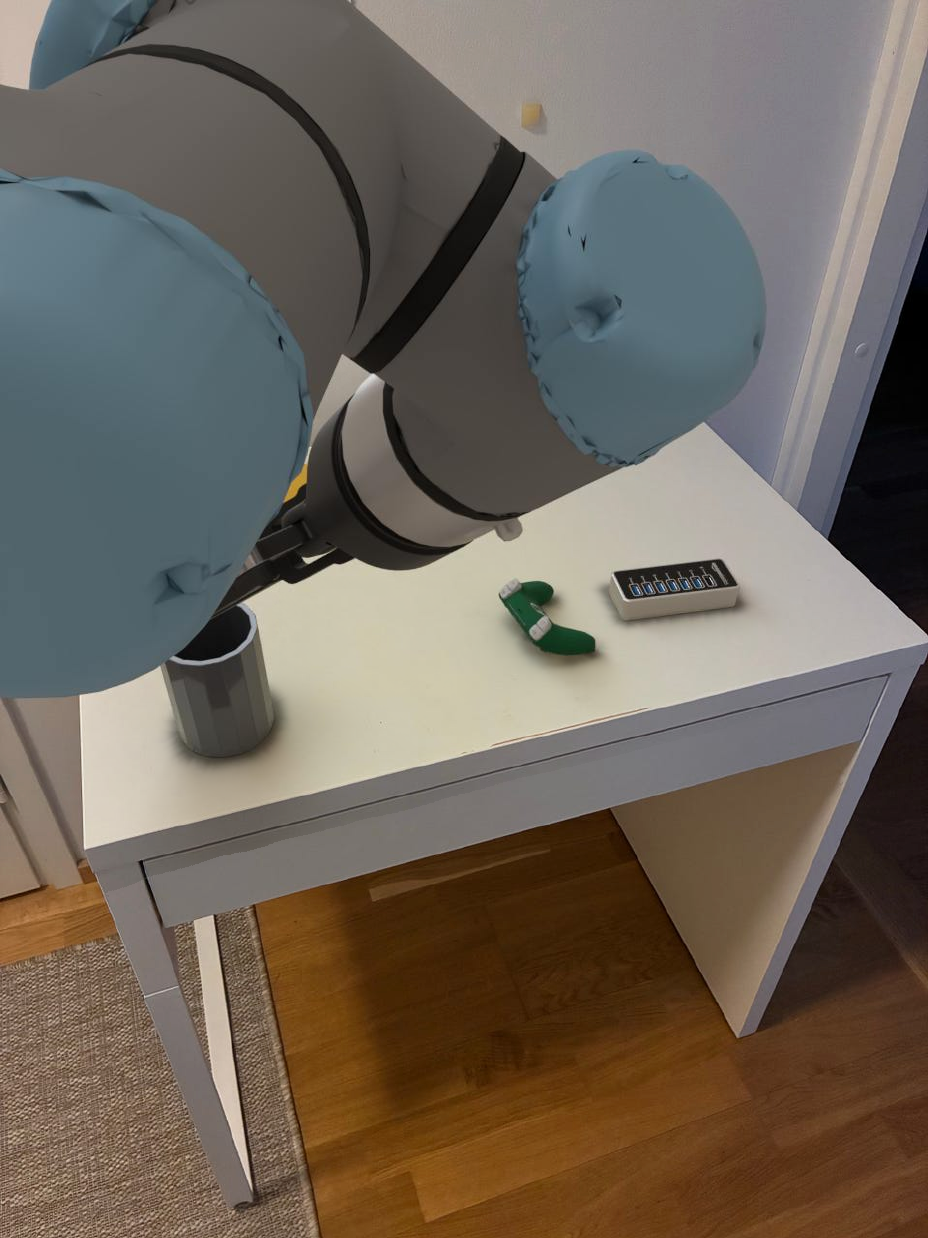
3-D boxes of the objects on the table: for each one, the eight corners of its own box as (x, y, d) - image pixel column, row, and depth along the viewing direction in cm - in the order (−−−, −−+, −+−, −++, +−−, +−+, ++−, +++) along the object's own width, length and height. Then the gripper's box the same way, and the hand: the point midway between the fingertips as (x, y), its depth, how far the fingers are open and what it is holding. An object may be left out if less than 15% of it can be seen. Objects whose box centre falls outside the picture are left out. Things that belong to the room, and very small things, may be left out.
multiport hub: (607, 590, 89) (610, 570, 88) (718, 576, 91) (722, 557, 90) (622, 621, 86) (625, 601, 85) (736, 606, 88) (741, 586, 86)
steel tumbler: (183, 766, 73) (156, 674, 67) (176, 698, 79) (150, 606, 72) (280, 745, 75) (263, 653, 68) (267, 680, 80) (250, 589, 74)
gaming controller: (524, 613, 90) (484, 591, 85) (551, 583, 89) (512, 559, 84) (573, 677, 83) (533, 656, 79) (603, 645, 82) (563, 623, 78)
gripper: (192, 694, 32) (100, 737, 50) (670, 435, 44) (456, 545, 63) (80, 493, 31) (28, 611, 50) (596, 288, 44) (402, 442, 62)
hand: (267, 574), depth 56 cm, fingers open, 13 cm apart
